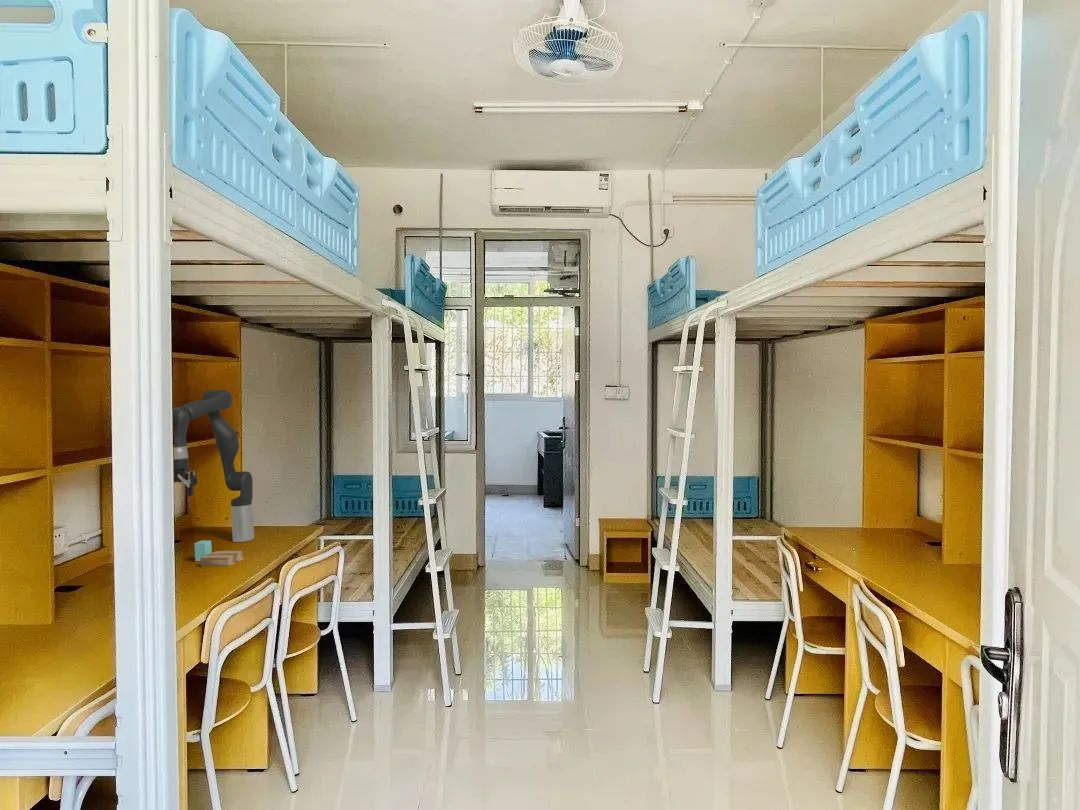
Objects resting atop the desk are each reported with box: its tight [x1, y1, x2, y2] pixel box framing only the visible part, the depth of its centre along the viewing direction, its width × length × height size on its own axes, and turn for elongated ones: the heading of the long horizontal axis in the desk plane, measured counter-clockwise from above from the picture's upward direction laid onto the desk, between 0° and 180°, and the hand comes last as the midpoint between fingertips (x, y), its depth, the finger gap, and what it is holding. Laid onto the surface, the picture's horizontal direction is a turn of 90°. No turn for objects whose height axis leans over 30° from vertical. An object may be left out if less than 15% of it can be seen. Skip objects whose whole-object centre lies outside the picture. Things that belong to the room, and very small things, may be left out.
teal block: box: [194, 540, 213, 561], centre depth 285 cm, size 5×5×8 cm
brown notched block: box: [199, 550, 245, 568], centre depth 280 cm, size 12×12×4 cm
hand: (180, 496), depth 275 cm, fingers open, 8 cm apart
